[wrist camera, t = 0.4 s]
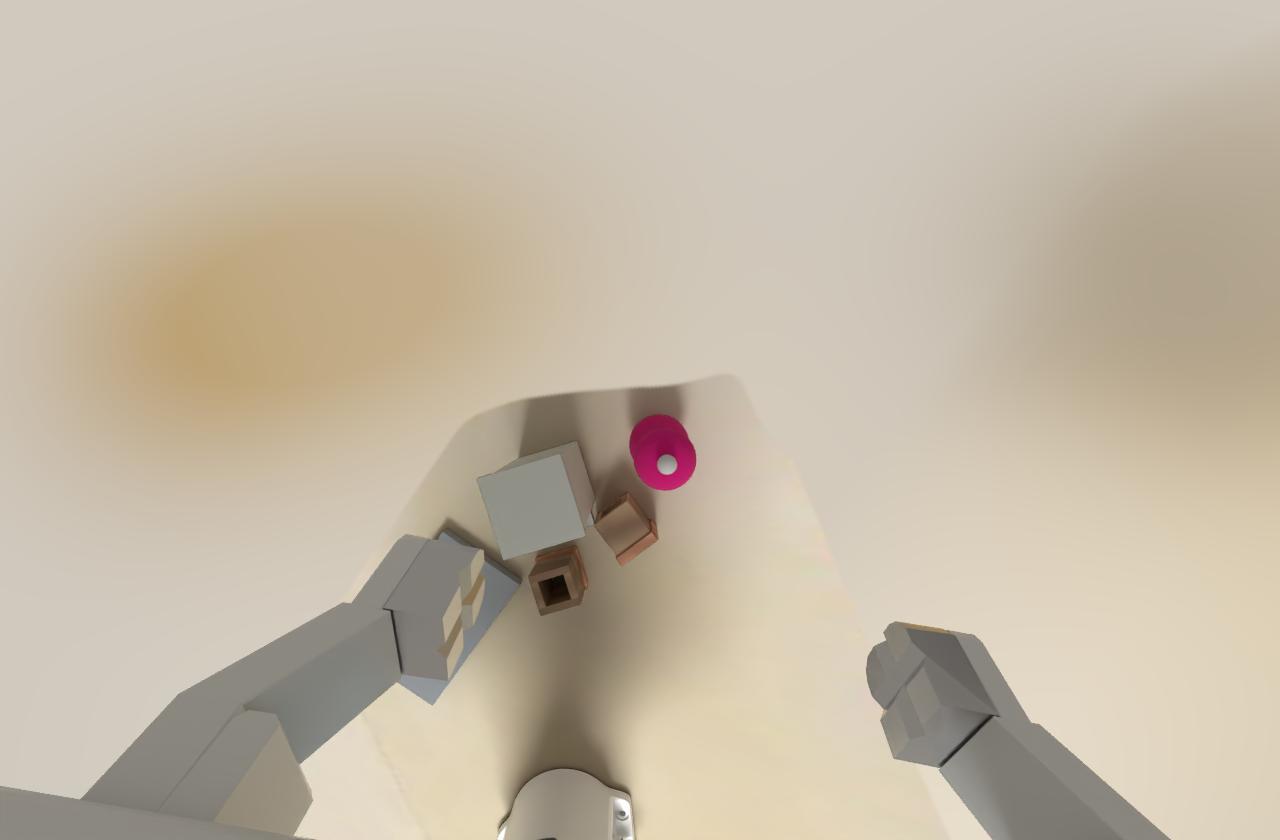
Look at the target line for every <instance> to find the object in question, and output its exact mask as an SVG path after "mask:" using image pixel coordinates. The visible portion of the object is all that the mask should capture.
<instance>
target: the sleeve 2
mask: <svg viewBox="0 0 1280 840" xmlns="http://www.w3.org/2000/svg"><path fill="white" fill-rule="evenodd" d="M594 527H595V528H596V529H597V531H598V532H599V533H600V534H601V536H602V537H603V538H604V540H605V541H606V542H607V544H608V545H609V546H610V547H611V549H612V550H613V551H614V553H615V554H616V559H617V561H618V562H619V563H620V565H621V566H623V565H625V564H626V563H627V562H629V561H630V560H631V559H633V558H634V557H636V556H637V555H638V554H640V553H641V552H642V551H644V550H645V549H646V548H648V547H649V546H651V545H652V544H653V543H655V542H656V541H657V540H658V539H659V538H658V531H657V526H656V525H655V523H654V522H653V521H652V519H651V520H650V521H649V519H648V518H647V517H646V515H645V514H644V513H643V511H642V510H641V509H640V507H639V506H638V505H637V503H636V502H635V501H634V499H633V498H632V497H631V496H630V494H629V493H628V492H627V493H625V494H624V495H623V496H621V497H620V498H619V499H617V500H616V501H615V502H613V503H612V504H610V505H609V506H608V507H606V508H605V509H604V510H602V511H601V512H600V513H598V514H597V516H596V520H595V523H594Z"/></svg>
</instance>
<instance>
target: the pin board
mask: <svg viewBox="0 0 1280 840" xmlns="http://www.w3.org/2000/svg"><path fill="white" fill-rule="evenodd" d="M437 540H439V541H444V542H449V543H454V544H459V545H464V546H469V547H473V546H472V545H471V544H469V543H468V542H466V541H465V540H463V539H462V538H460V537H459V536H458V535H456V534H455V533H453V532H452V531H450V530H449V529H446V530H444V531H443V532H442V533H441V535H440V536H439V538H438V539H437ZM474 548H475V547H474ZM480 573H481V574H482V575H483V576H484V577H485V588H484V595H483V600H482V603H481V606H480V610H479V613H478V615H477V618H476V620H475V623H474V625H473V627H471V628H470V629H468V630H467V631H466V632H464V633H463V647H464V648H463V650H462V652H461V654H460V656H459V659H458V661H457V663H456V665H455V668H454V670H453V672H452V674H451V676H450V679H449V681H444V680H437V679H430V678H423V677H416V676H409V675H402V674H401V675H402V677H401V679H399V680H398V681H397V682H398V683H399V684H401V685H402V686H404V687H405V688H407V689H408V690H410V691H411V692H413V693H414V694H416V695H417V696H419V697H420V698H422V699H423V700H425V701H426V702H428V703H429V704H431V705H432V706H433V704H434V703H435V702H436V700H437V699H438V698H439V696H440V695H441V693H442V692H443V691H444V689H445V688H446V687H447V685H448V684H449V682H450V681H451V680H452V678H453V677H454V675H455V674H456V673H457V671H458V670H459V669H460V667H461V666H462V664H463V663H464V662H465V660H466V659H467V657H468V656H469V655H470V653H471V652H472V651H473V649H474V648H475V646H476V645H477V644H478V642H479V641H480V639H481V638H482V637H483V635H484V634H485V633H486V631H487V630H488V628H489V627H490V626H491V624H492V623H493V621H494V620H495V619H496V617H497V616H498V615H499V613H500V612H501V610H502V609H503V608H504V606H505V605H506V603H507V602H508V601H509V599H510V598H511V597H512V595H513V594H514V592H515V591H516V590H517V588H518V587H519V585H520V584H521V582H522V580H521V579H520V578H518V577H517V576H516V575H514V574H513V573H511V572H510V571H508V570H507V569H505V568H504V567H502V566H501V565H500V564H498V563H497V562H495V561H494V560H492V559H491V558H489V557H488V556H487V555H485V554H484V564H483V566H482V568H481V570H480Z"/></svg>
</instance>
